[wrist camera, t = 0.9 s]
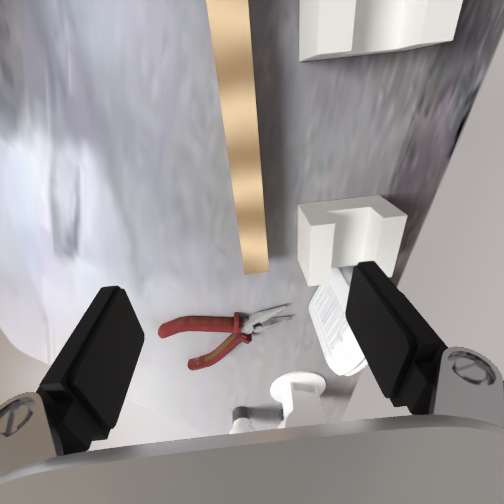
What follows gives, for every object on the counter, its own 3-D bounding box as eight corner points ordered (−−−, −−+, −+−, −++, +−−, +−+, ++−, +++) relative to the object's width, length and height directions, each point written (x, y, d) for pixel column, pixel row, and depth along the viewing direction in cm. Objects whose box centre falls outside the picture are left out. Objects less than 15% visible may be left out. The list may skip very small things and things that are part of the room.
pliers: (297, 328, 44) (301, 341, 42) (192, 361, 47) (190, 375, 45) (276, 280, 38) (278, 292, 36) (157, 321, 41) (153, 335, 39)
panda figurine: (258, 396, 54) (266, 491, 41) (284, 365, 49) (303, 462, 36) (306, 405, 57) (328, 496, 45) (336, 377, 52) (370, 470, 39)
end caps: (300, -69, 20) (324, -124, 15) (430, -82, 20) (499, -141, 15) (297, 258, 36) (308, 286, 31) (369, 250, 36) (391, 276, 31)
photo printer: (328, 313, 42) (360, 387, 32) (303, 309, 41) (328, 384, 31) (359, 262, 37) (409, 331, 27) (332, 256, 36) (374, 325, 26)
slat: (202, -38, 20) (197, -63, 17) (240, -42, 20) (242, -68, 17) (243, 256, 35) (245, 274, 32) (265, 254, 35) (269, 271, 32)
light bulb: (222, 406, 55) (221, 471, 46) (253, 401, 55) (258, 465, 45) (230, 421, 59) (230, 484, 49) (259, 416, 58) (265, 478, 49)
